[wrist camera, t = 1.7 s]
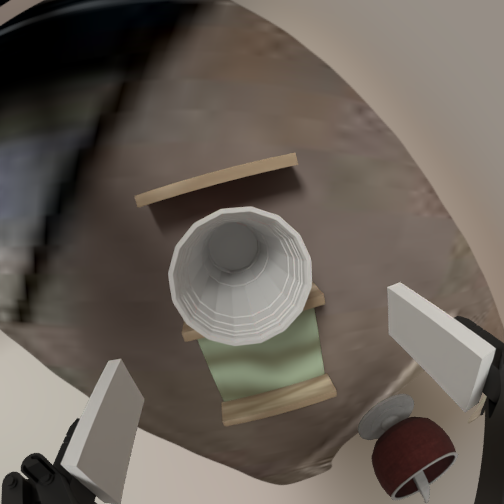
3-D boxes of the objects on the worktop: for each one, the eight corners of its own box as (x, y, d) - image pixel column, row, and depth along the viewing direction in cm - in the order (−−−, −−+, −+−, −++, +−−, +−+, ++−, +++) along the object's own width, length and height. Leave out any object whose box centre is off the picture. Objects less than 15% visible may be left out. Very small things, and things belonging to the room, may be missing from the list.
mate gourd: (349, 414, 42) (395, 501, 23) (416, 378, 42) (476, 448, 23) (358, 451, 47) (393, 521, 27) (414, 421, 47) (458, 482, 28)
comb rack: (144, 193, 30) (134, 196, 26) (285, 155, 30) (295, 152, 27) (223, 407, 38) (225, 426, 35) (327, 379, 39) (336, 395, 35)
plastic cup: (288, 202, 32) (326, 217, 20) (273, 293, 34) (300, 348, 23) (189, 190, 30) (172, 199, 19) (182, 285, 33) (166, 340, 21)
